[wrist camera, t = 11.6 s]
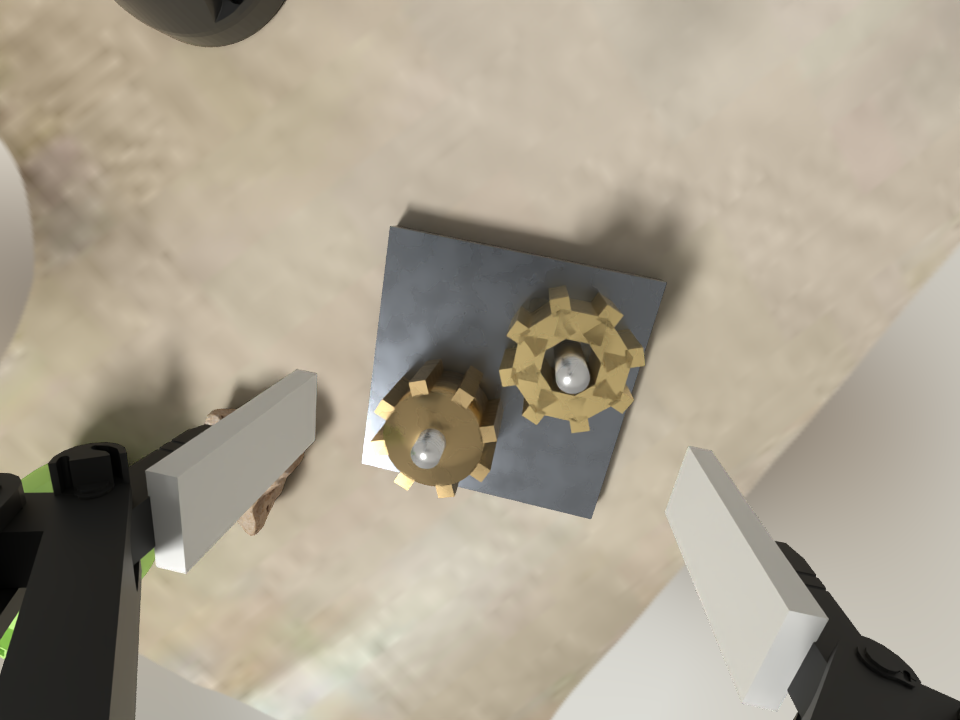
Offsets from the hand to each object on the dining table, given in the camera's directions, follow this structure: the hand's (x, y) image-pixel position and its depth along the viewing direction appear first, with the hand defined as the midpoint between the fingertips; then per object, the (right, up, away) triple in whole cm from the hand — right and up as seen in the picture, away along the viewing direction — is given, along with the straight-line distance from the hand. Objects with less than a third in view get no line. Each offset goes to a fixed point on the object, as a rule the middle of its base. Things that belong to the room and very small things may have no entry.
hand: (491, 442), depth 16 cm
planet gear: (+6, +4, +18) cm, 19 cm away
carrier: (+1, +2, +21) cm, 21 cm away
